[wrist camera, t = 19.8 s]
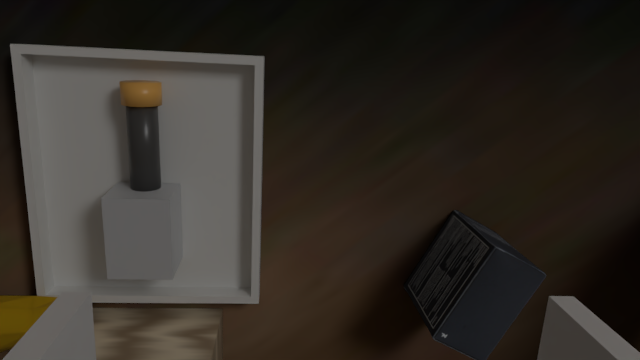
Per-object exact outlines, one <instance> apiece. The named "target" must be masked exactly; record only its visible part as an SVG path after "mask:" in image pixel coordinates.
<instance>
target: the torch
mask: <svg viewBox="0 0 640 360" xmlns="http://www.w3.org/2000/svg"><path fill="white" fill-rule="evenodd" d="M56 298H57V297H46V296H4V295H0V352H2V351H5V350H9V349H12V348H13V347H14V346H15V345H16V344H17V342H18V341H19V340H20V339H21V338H22V337H23V336H24V335H25V333H26V332H27V331H28V330H29V329H30V328H31V327H32V325H33V324H34V323H35V322H36V321H37V320H38V319H39V318H40V316H41V315H42V314H43V313H44V312H45V311H46V310H47V309H48V307H49V306H50V305H51V304H52V303H53V302H54V301H55V300H56Z"/></svg>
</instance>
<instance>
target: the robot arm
mask: <svg viewBox="0 0 640 360" xmlns="http://www.w3.org/2000/svg"><path fill="white" fill-rule="evenodd" d="M2 360H96V348H95V335H94V322H93V308H92V295H91V292H62V293H61V294H60V295H59V296H58V297H57V298H56V300H55V301H54V302H53V303H52V304H51V305H50V306H49V307H48V309H47V310H46V311H45V312H44V313H43V314H42V315H41V316H40V318H39V319H38V320H37V321H36V322H35V323H34V324H33V325H32V327H31V328H30V329H29V330H28V331H27V332H26V333H25V335H24V336H23V337H22V338H21V339H20V340H19V341H18V342H17V344H16V345H15V346H14V347H13V348H12V349H11V350H10V351H9V353H8V354H7V355H6V356H5V357H4V358H3V359H2ZM537 360H640V353H639V352H638V351H637V350H636V349H635V348H634V347H632V346H631V345H630V344H629V343H628V342H627V341H625V340H624V339H623V338H622V337H621V336H619V335H618V334H617V333H616V332H615V331H614V330H612V329H611V328H610V327H609V326H608V325H607V324H605V323H604V322H603V321H602V320H601V319H599V318H598V317H597V316H596V315H595V314H594V313H592V312H591V311H590V310H589V309H588V308H587V307H585V306H584V305H583V304H582V303H581V302H580V301H578V300H577V299H576V298H575V297H574V296H549V299H548V304H547V309H546V314H545V320H544V325H543V330H542V336H541V341H540V346H539V352H538V357H537Z"/></svg>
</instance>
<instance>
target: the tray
mask: <svg viewBox="0 0 640 360" xmlns="http://www.w3.org/2000/svg"><path fill="white" fill-rule="evenodd" d="M10 49H11V58H12V68H13V77H14V86H15V96H16V105H17V114H18V124H19V133H20V142H21V152H22V161H23V170H24V179H25V189H26V198H27V207H28V217H29V226H30V235H31V245H32V254H33V263H34V273H35V282H36V291H37V296H46V297H58V296H59V295H60V294H61V293H62V292H91V295H92V303H237V304H259V294H260V251H261V203H262V156H263V108H264V61H265V56H252V55H232V54H212V53H192V52H172V51H153V50H133V49H113V48H93V47H73V46H53V45H34V44H10ZM125 80H150V81H159V82H162V105H160V106H158V120H159V144H160V168H161V183H175V184H181V215H182V248H183V258H182V260H181V262H180V264H179V267H178V269H177V271H176V274H175V276H174V278H173V280H137V279H107V268H106V255H105V242H104V229H103V217H102V204H101V198H102V197H103V196H104V195H105V194H106V193H107V192H108V191H109V190H111V189H112V188H113V187H114V186H115V185H116V184H117V183H118V182H130V170H129V153H128V137H127V120H126V106H123V105H121V99H120V83H119V82H120V81H125Z"/></svg>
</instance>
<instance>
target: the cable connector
mask: <svg viewBox="0 0 640 360" xmlns="http://www.w3.org/2000/svg"><path fill="white" fill-rule="evenodd" d="M119 83H120V99H121V105H123V106H126V120H127V137H128V153H129V170H130V182H118V183H117V184H116V185H115V186H114V187H113V188H112V189H111V190H109V191H108V192H107V193H106V194H105V195H104V196H103V197H102V198H101V204H102V217H103V229H104V242H105V255H106V268H107V279H137V280H173V278H174V276H175V274H176V271H177V269H178V267H179V264H180V262H181V260H182V258H183V248H182V215H181V184H175V183H161V168H160V144H159V120H158V106H160V105H162V82H159V81H150V80H125V81H120V82H119Z"/></svg>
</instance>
